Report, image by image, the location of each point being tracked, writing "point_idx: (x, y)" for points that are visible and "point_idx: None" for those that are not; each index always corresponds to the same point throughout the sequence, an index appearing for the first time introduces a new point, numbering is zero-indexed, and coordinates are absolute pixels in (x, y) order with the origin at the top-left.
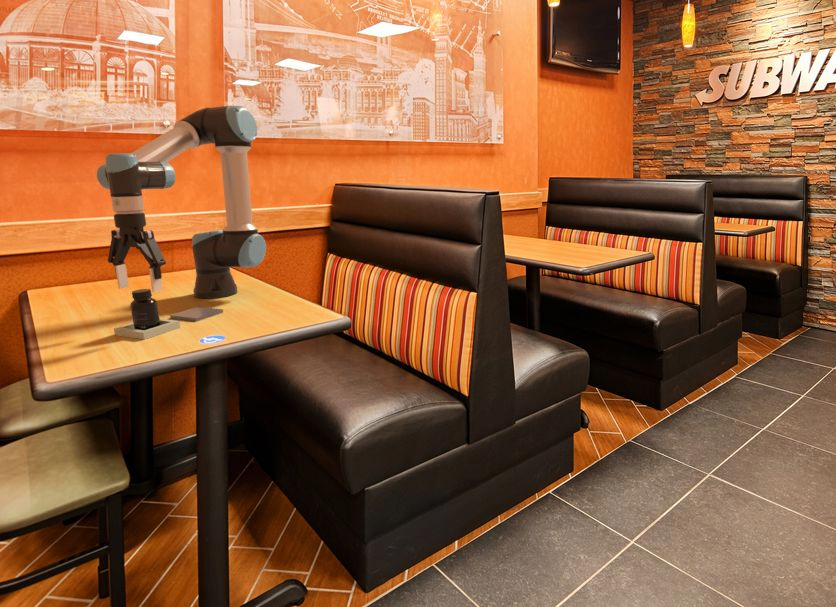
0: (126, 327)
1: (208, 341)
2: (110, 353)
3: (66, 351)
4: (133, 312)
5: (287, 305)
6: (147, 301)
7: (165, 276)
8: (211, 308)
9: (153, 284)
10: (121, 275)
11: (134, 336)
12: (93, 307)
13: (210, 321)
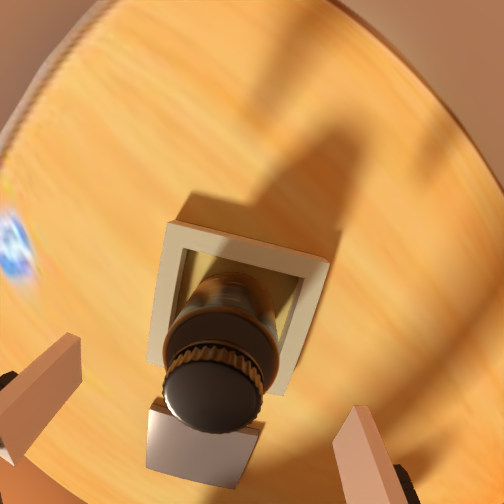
0: (298, 292)
1: (9, 230)
2: (192, 80)
3: (356, 86)
4: (239, 299)
5: (64, 473)
6: (172, 348)
7: None
8: (181, 476)
9: (43, 354)
10: (364, 474)
11: (222, 232)
12: (494, 436)
13: (115, 400)
